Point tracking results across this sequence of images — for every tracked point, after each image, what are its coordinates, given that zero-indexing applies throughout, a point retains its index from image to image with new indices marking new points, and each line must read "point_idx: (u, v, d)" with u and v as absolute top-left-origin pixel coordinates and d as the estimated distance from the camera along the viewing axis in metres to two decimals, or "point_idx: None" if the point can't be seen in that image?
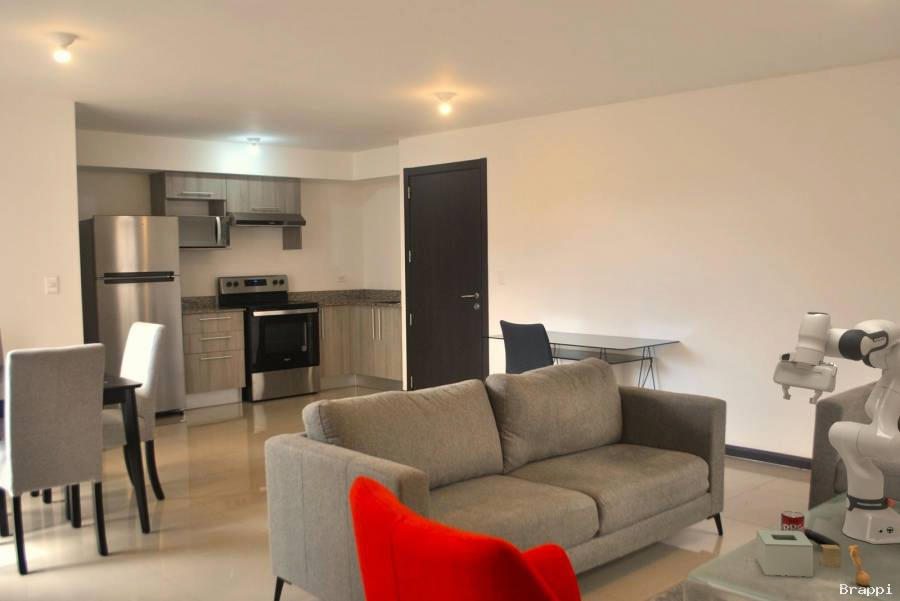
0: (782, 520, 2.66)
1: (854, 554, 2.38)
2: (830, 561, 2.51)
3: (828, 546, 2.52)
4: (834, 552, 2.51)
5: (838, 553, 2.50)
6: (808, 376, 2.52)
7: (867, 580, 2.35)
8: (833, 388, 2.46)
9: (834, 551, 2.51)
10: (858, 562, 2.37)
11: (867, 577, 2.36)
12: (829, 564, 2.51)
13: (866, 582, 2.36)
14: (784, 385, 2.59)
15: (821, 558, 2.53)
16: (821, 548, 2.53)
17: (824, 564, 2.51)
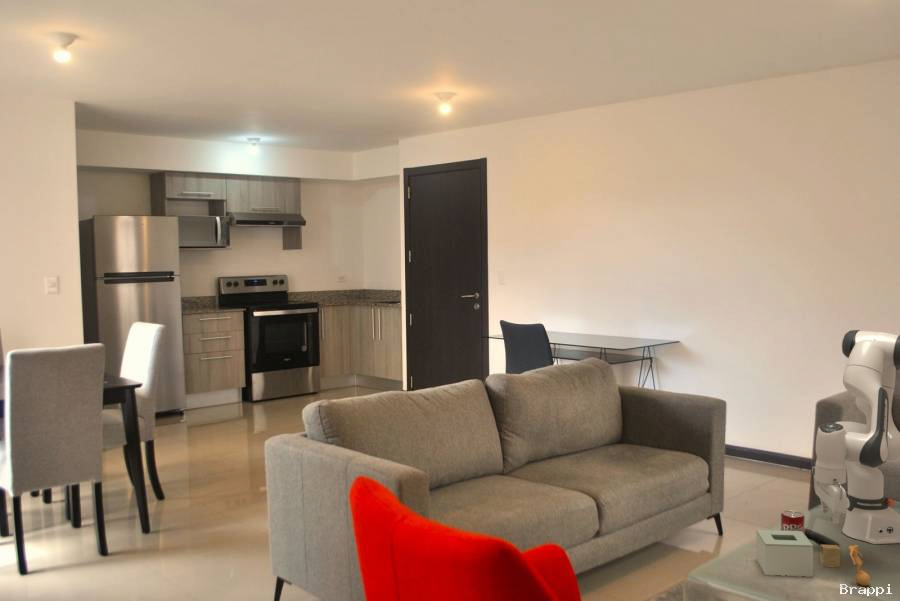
0: (782, 520, 2.66)
1: (854, 554, 2.38)
2: (830, 561, 2.51)
3: (828, 546, 2.52)
4: (834, 552, 2.51)
5: (838, 553, 2.50)
6: (827, 494, 2.48)
7: (867, 580, 2.35)
8: (843, 510, 2.41)
9: (834, 551, 2.51)
10: (858, 562, 2.37)
11: (867, 577, 2.36)
12: (829, 564, 2.51)
13: (866, 582, 2.36)
14: (821, 498, 2.57)
15: (821, 558, 2.53)
16: (821, 548, 2.53)
17: (824, 564, 2.51)
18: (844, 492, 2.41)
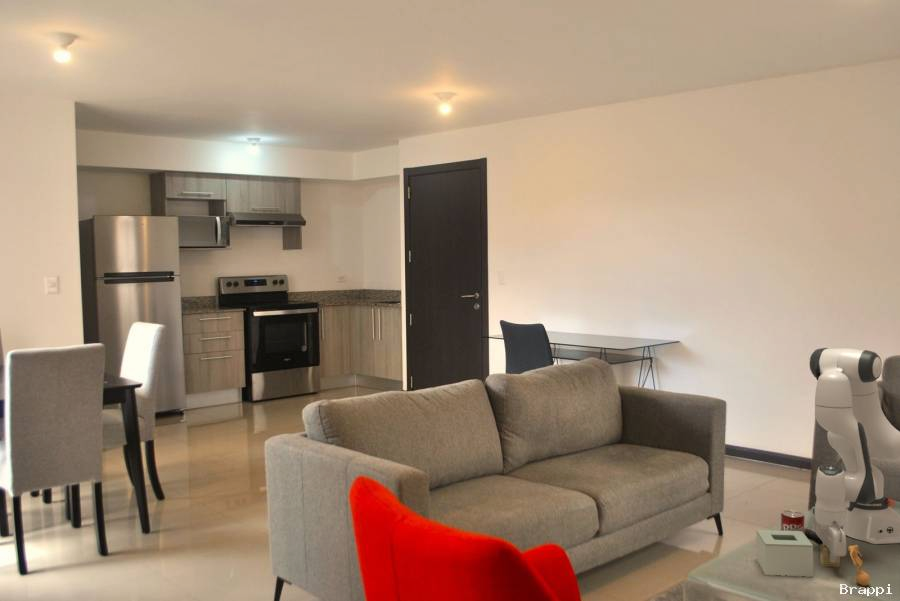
0: (782, 520, 2.66)
1: (854, 554, 2.38)
2: None
3: None
4: None
5: None
6: (826, 536, 2.49)
7: (867, 580, 2.35)
8: (843, 553, 2.42)
9: None
10: (858, 562, 2.37)
11: (867, 577, 2.36)
12: (829, 564, 2.51)
13: (866, 582, 2.36)
14: None
15: (821, 558, 2.53)
16: (821, 548, 2.53)
17: (824, 564, 2.51)
18: (844, 535, 2.42)
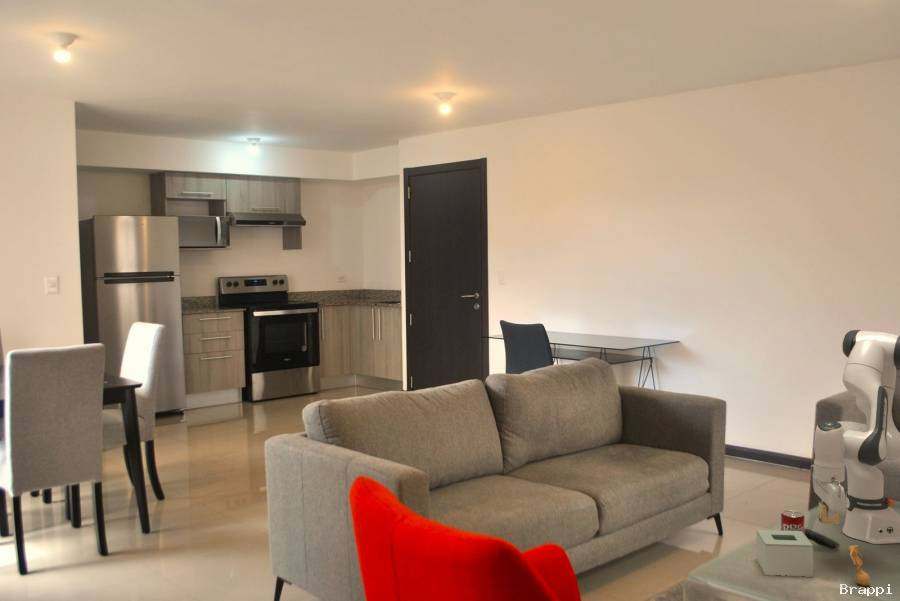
0: (782, 520, 2.66)
1: (854, 554, 2.38)
2: None
3: None
4: None
5: None
6: (825, 493, 2.48)
7: (867, 580, 2.35)
8: (842, 508, 2.41)
9: None
10: (858, 562, 2.37)
11: (867, 577, 2.36)
12: (828, 521, 2.50)
13: (866, 582, 2.36)
14: (822, 499, 2.54)
15: (820, 515, 2.52)
16: (820, 505, 2.52)
17: (823, 521, 2.50)
18: (843, 490, 2.41)
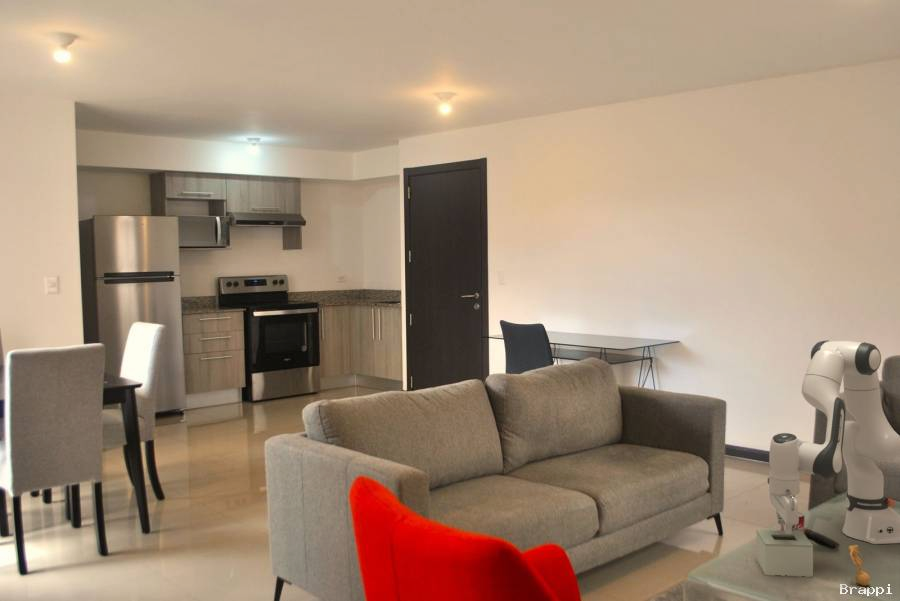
0: None
1: (854, 554, 2.38)
2: None
3: None
4: None
5: None
6: (780, 505, 2.47)
7: (867, 580, 2.35)
8: (795, 521, 2.40)
9: None
10: (858, 562, 2.37)
11: (867, 577, 2.36)
12: None
13: (866, 582, 2.36)
14: None
15: None
16: None
17: None
18: (796, 503, 2.40)
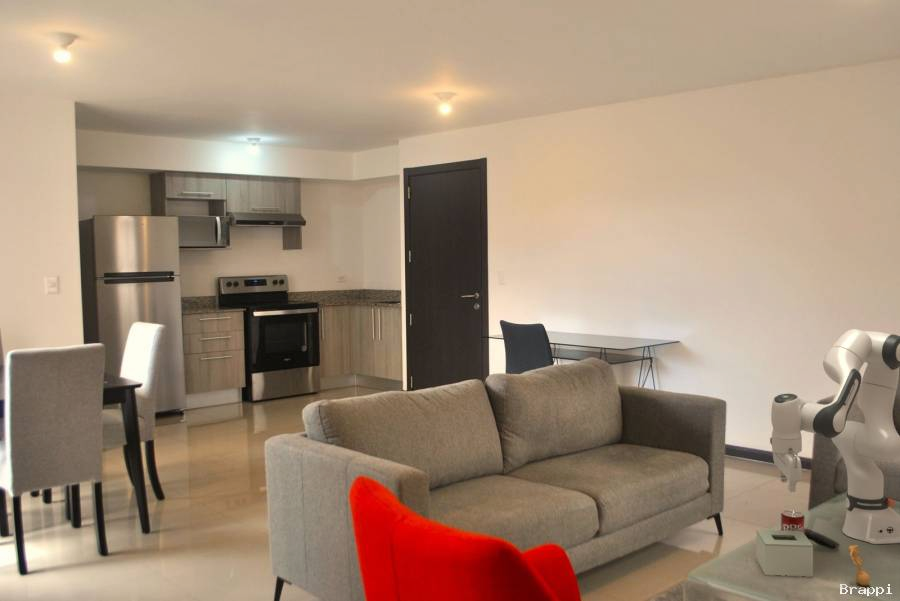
0: (782, 520, 2.66)
1: (854, 554, 2.38)
2: None
3: None
4: None
5: None
6: (783, 464, 2.52)
7: (867, 580, 2.35)
8: (799, 478, 2.45)
9: None
10: (858, 562, 2.37)
11: (867, 577, 2.36)
12: None
13: (866, 582, 2.36)
14: (779, 468, 2.61)
15: None
16: None
17: None
18: (799, 461, 2.45)
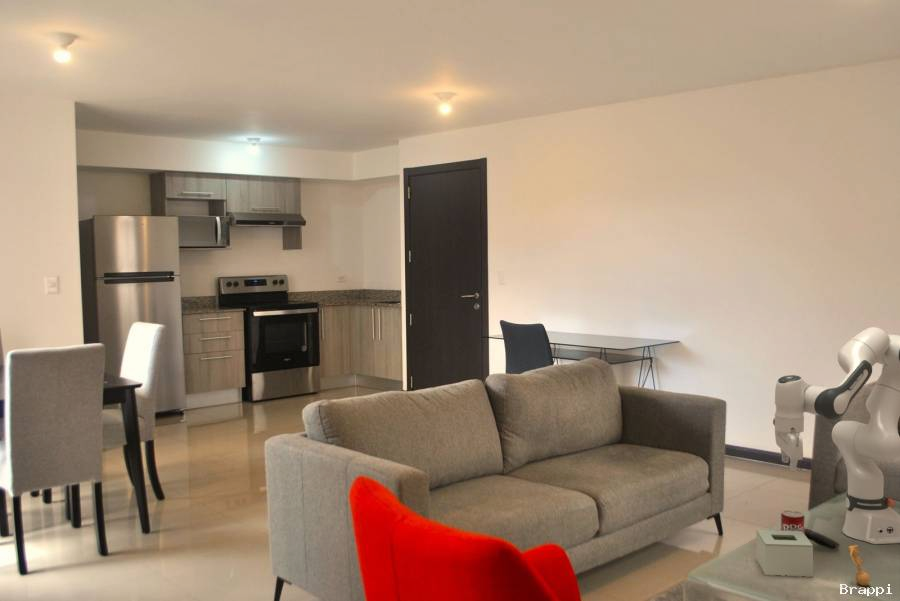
0: (782, 520, 2.66)
1: (854, 554, 2.38)
2: None
3: None
4: None
5: None
6: (785, 443, 2.59)
7: (867, 580, 2.35)
8: (800, 456, 2.51)
9: None
10: (858, 562, 2.37)
11: (867, 577, 2.36)
12: None
13: (866, 582, 2.36)
14: (781, 448, 2.67)
15: None
16: None
17: None
18: (801, 439, 2.52)
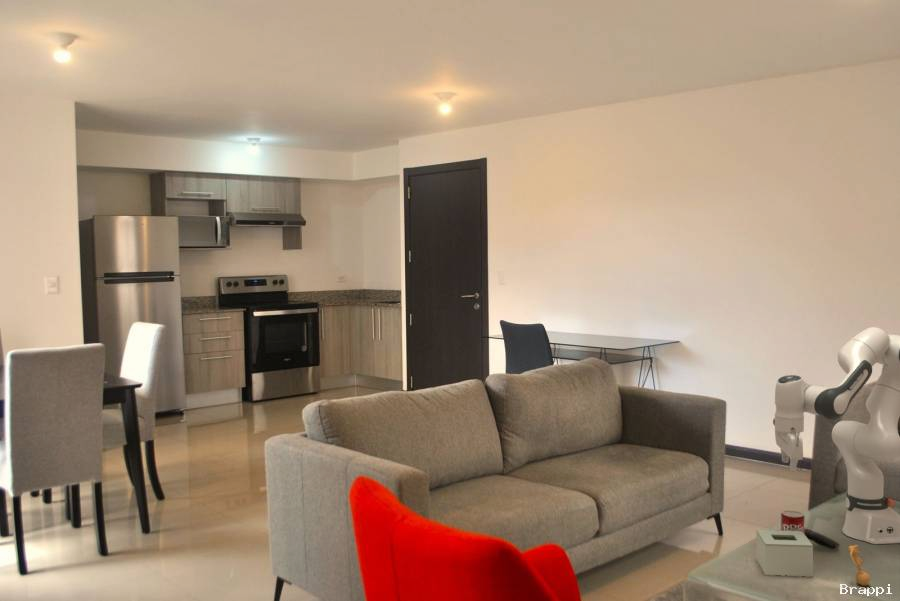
0: (782, 520, 2.66)
1: (854, 554, 2.38)
2: None
3: None
4: None
5: None
6: (785, 443, 2.59)
7: (867, 580, 2.35)
8: (800, 456, 2.51)
9: None
10: (858, 562, 2.37)
11: (867, 577, 2.36)
12: None
13: (866, 582, 2.36)
14: (781, 448, 2.67)
15: None
16: None
17: None
18: (801, 439, 2.52)
